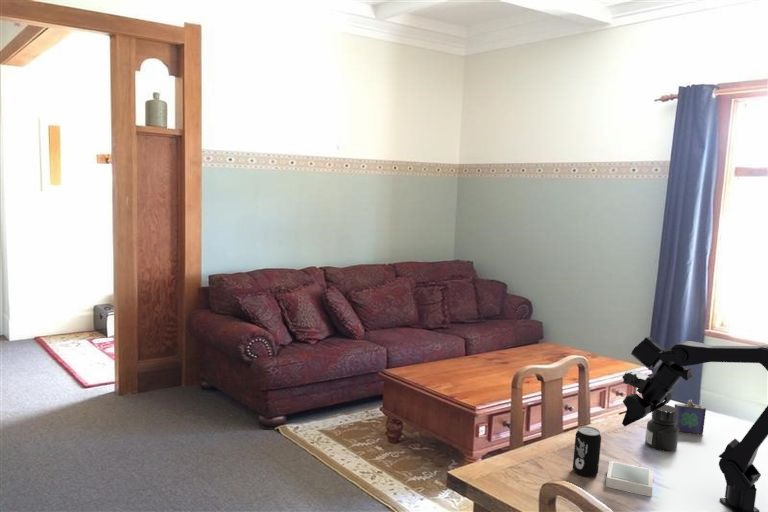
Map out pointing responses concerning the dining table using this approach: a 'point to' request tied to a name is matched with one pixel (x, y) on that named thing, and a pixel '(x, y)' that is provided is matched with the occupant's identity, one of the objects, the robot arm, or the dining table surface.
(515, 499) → the dining table surface
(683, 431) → the flask
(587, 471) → the beverage can
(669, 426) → the ink bottle
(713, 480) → the dining table surface
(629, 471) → the trivet
